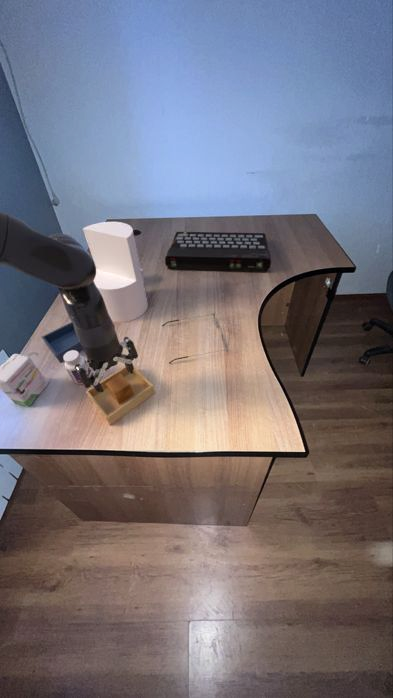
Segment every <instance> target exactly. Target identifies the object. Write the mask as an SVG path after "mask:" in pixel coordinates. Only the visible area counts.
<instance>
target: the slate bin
mask: <svg viewBox="0 0 393 698" xmlns="http://www.w3.org/2000/svg"><path fill="white" fill-rule="evenodd" d="M41 338H42V340H43V342H44V344H45V345H46V346H47V347H48V349H49V350H50V352H51V353H52V355H54V357H55V358H56V359H57V361H58V362H59V363H63V362H65V361H64V359H63V356H64V355H65V353H67V352H68V351H71V350H76V351H78V353H79V354H80V353H81V352H83V351H84V350H83V348H82V346H81V343H80V341H79V339H78V337H77V335H76V333H75V330H74V326H73V324H72V322H71V321H70V322H68V323H67V324H65V325H63V326H61V327H59V328H55V330H52V331H50V332H48V333H46V334H44V335H42V336H41Z"/></svg>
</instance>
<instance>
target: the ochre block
mask: <svg viewBox="0 0 393 698" xmlns="http://www.w3.org/2000/svg"><path fill="white" fill-rule="evenodd" d="M106 386H107V388H108V390H109V392H110V394H111V395H112V396H113V398H114V399H115V400H116V401H117V402H118V404H121V403H122V402H124V401H125V400H126V399H128V398H129V397H131V396H132V395H134V394H133V391H132V388H131V386H130V383H129V382H128V381H127V380H126V379H125V378H124V377H123V376H122V375H121V374H120V375H118V376H116V377H115V378H113V379H112V380H110V381H109V382H107V383H106Z"/></svg>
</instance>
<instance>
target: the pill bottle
mask: <svg viewBox="0 0 393 698" xmlns="http://www.w3.org/2000/svg"><path fill="white" fill-rule="evenodd" d="M63 359H64V361H63V362H64V368H65V369H66V371H67V373H68V374H69V376H70V377H71V379H72V381H73V382H74V384H77V385H84V384H83V383H82V382H81V381H80V378H79V376H78V374H77V371H76V369H75V365H76V364H80V365H83V364H84V363H86V362H87V359H85V357H84V356H83V355H81V354H80V352H79V353H78V351H76V350H71V351H68V352H67V353H65V355H64V356H63ZM90 373H91V367H89V368H88V374H86V375H87V377H88V378H89V376H90Z"/></svg>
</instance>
